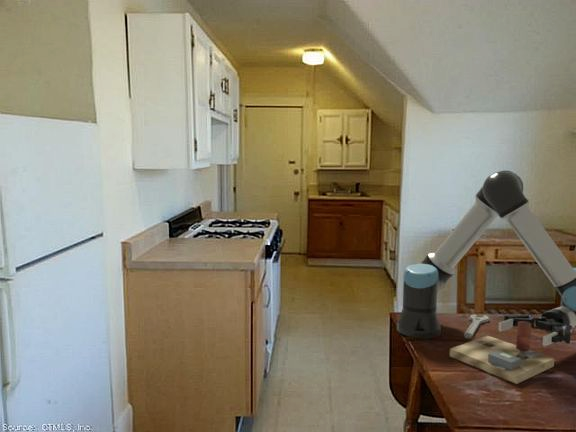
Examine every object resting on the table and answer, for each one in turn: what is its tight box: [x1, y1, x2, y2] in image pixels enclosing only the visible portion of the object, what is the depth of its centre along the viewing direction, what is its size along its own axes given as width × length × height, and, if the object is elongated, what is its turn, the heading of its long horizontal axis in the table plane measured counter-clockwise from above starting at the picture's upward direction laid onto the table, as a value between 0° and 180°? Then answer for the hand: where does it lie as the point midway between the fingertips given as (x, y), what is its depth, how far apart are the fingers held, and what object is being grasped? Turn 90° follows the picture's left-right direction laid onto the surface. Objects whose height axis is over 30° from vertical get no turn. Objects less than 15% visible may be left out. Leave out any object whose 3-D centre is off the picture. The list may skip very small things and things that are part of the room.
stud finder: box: [488, 350, 521, 371], centre depth 138 cm, size 7×5×2 cm
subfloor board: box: [449, 335, 555, 385], centre depth 146 cm, size 22×20×3 cm
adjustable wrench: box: [463, 314, 490, 339], centre depth 176 cm, size 25×6×2 cm, turn 143°
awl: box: [515, 321, 532, 360], centre depth 143 cm, size 4×4×13 cm
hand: (521, 334), depth 141 cm, fingers open, 13 cm apart
